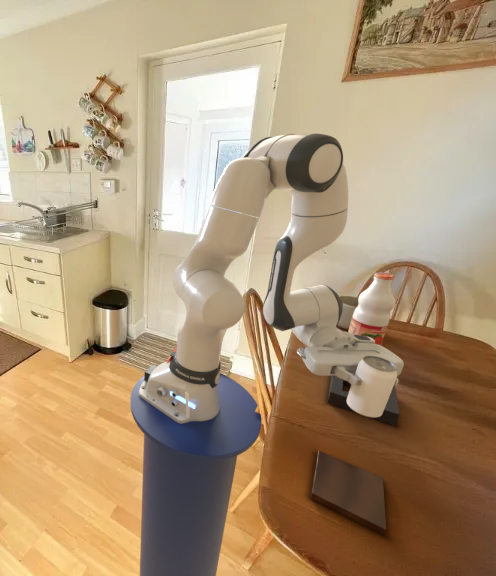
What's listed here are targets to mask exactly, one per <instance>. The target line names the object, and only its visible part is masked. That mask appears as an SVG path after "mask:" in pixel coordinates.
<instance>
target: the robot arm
mask: <svg viewBox="0 0 496 576" xmlns="http://www.w3.org/2000/svg"><path fill="white" fill-rule="evenodd" d="M274 190H278V191H290V193H291V210H290V211H291V212H290V220H289V222H288V226H287V229H286V231H285V232H284V234H283V235H282V236H281V237H280V238H279V239H278V240H277V242H276V244H275V248H274V252H273V257H272V261H271V262H272V263H271V268H270V275H269V281H268V286H267V292H266V296H265V298H264V300H263V301H264V302H263V304H262V315H263V318H264V321H265V323H266V324H267V325H269V326H270V327H271V328H273V329H276V330H278V331H281V332H285V331H289V330H290V331H291V332H292V333H293V335H294V336H295V338H297V339H298V341H300V342H301V343H302V344H303V345H304V346H301V347H299V348H297V349H296V354H297V355H298V357H300V358H302V361H303V363H304V365H305V366H306V368H307V369H308V370H309V371H310V373H311V374H313V375H316V376H319V377H320V376H321V377H325V376H327V377H331V376H337V377H339V378H341V379H343V380H345V381H348V382H349V383H350V384H351V385H352V386H360V385H361V383H362V379H361V378H360V377H358V375H355V372H356V370H357V367H358V364H359V362H360V361H362V360H363V357H365V356H377V357H381V358H384V359H386V360H389V361H390V362H392V363H394V364H395V365H396V367H397V370H396V372H397V378H396V381H395V383H394V386H395V387H397V386H398V385H399V382H400V380H399V378H398V376H400V375H401V374H402V371H403V369H404V367H405V366H404V365H405V364H404V360H403V359H401V358H400V357H399V356H398V355H397V354H395V353H394V352H392V351H391V350H390V349H388V348H386V347H384V346H383V345H381V346H380V345H378V344H375V340H374V339H372V338H371V337H366V336H360V335H355V334H351V333H348V331H343V330H341V329H339V328H337V325H338V323H339V321H340V318H341V315H342V311H343V303H342V300H341V298H340V296H341V295H339V293H337V292H336V290H334V289H333V288H331V287H330V286H328V285H326V284H317V285H313V286H308V287H303V288H299V289H295V290H291V289H292V284H293V279H294V274H295V271H296V269H297V268H298V266H299V265H300V264H301V263H302V262H303V261H305V260H306V259H307V258H309V257H310V256H312V255H313V254H315V253H317V252H318V251H320V250H322V249H324V248H326V247H328V246H330V245H331V244H333V243H334V242H335V241H337V239H338V238H339V237H341V235H342V234H343V232H344V230H345V228H346V224H347V221H348V210H349V182H348V176H347V170H346V166H345V164H344V152H343V148H342V146H341V143H340V142H339V140H338V139H337V138H335V137H333V136H331V135H329V134H324V133H310V134H305V133H304V134H299V133H298V134H296V133H288V134H280V135H276V136H268V137H264V138H261V139H259V140H257V141H256V142H254V143H253V144H252V145H250V146H249V147H248V149H247V150H246V151H245V153H244V154H243V156H242V157H240V158H236V159H234V160H232V161H230V162H229V163H228V164H227V165H226V167H225V168H224V170H223V172H222V174H221V176H220V178H219V179H218V182H217V184H216V186H215V188H214V191H213V193H212V195H211V198H210V200H209V204H208V206H207V209H206V212H205V215H204V218H203V221H202V223H201V227H200V229H199V231H198V234H197V237H196V239H195V241H194V244H193V245H192V246H191V249H190V250H189V252H188V254H187V255H186V257H185V259H183V262H181V263H179V264H178V265H177V266H176V268H175V269H174V271H173V274H172V284H173V288H174V290H175V291H174V292H175V293H176V295H177V296H178V297H179V298H180V300H181V301H182V302H183V304H184V306H185V311H186V316H185V320H184V323H183V325H181V326H180V327H179V329H177V337H176V346H175V348H174V349H173V351H172V352H171V353H170V354H169V357H168V358H167V359H166V361H164V362H161V363H160V364H158V365H157V366H156V365H154V364H152V365H151V366H150V367H148V368H147V369H146V370H145V371H144V375H145V377H144V382H143V383H142V385H141V386H140V389H139V396H140V397H141V398H142V399H144V400H145V401H147V402H148V403H150V404H151V405H152V406H154V407H155V408H157V409H158V410H160V411H161V412H163V413H164V414H166V415H167V416H169V417H170V418H171V419H173V420H174V421H176V422H177V423H180V424H183V423H187V422H190V421H206V420H210V419H212V418H214V417H215V416H216V415H217V414H218V413H219V410H220V403H219V399H218V382H219V379H220V373H222V372H221V370H222V369H221V366H222V363H221V353H222V346H223V341H224V338H225V335H226V333H227V331H228V329H230V328H232V327H234V326H235V325H237V324H238V323H239V322H240V320H241V319H242V318H243V316H244V313H245V310H246V302H245V299H244V296H243V295H242V294H241V292H240V290H239V289H238V288H237V286H236V285H235V284H234V283H233V282H232V281H230V280H229V279H228V278H226V277H225V274H226V272H227V270H228V269H229V267H230V266H231V265H232V263H234V261H235V260H236V259H237V258H240V257H241V256H243V255H244V254H245V253H246V252H247V250H248V247H249V245H250V243H251V240H252V237H253V235H254V233H255V230H256V228H257V225H258V222H259V220H260V218H261V215H262V212H263V209H264V207H265V203H266V200H267V199H268V197H269V196H270V194H271V193H272V192H273V191H274ZM176 416H177V417H176Z"/></svg>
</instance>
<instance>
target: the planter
mask: <svg viewBox="0 0 496 576" xmlns="http://www.w3.org/2000/svg"><path fill="white" fill-rule="evenodd" d="M339 296H340V298H341V300H342V303H343V311H342V315H341V318H340V321H339V323H338V325H336V327H339V328H341V329H343V330H347V331H348V330H349V327H350V324H351V320H352V317H353V313H354V311H355V309H356V308H357V307H358V305H359V303H358V299H359V296H354V295H339Z"/></svg>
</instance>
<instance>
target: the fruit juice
mask: <svg viewBox="0 0 496 576" xmlns="http://www.w3.org/2000/svg"><path fill="white" fill-rule="evenodd" d="M394 280H395V274H392V273H388V272H381V271H379V272H378V271H377V272H375V273H374V274H373V281H372V282H371V284H370V285H369V286H368V287H367V288H366V289H365V290H363V291H362V292H361V293H360V294H359V296H358V297H359V299H358V303H359V305H358V307H357V308H356V309H355V311H354V313H353V317H352V320H351V324H350V327H349V330H347V332H348V333H351V334H355V335H360V336H366V337H371V338H372V339H374V340H375V344H378V345H380V346H383V341H384V338H385V336H386V332H387V331H388V327H389V324H390V321H391V311H392V310H393V309H394V307H395V305H396V298H395V296H394V294H393V290H392V282H394Z"/></svg>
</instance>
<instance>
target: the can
mask: <svg viewBox="0 0 496 576" xmlns="http://www.w3.org/2000/svg"><path fill="white" fill-rule="evenodd" d="M396 370H397V367H396V365H395V364H394V363H392V362H390V361H389V360H386V359H384V358H381V357H377V356H365V357H363V360H362V361H360V362H359V364H358V367H357V370H356V372H355V375H358V377H360V378H361V379H362V383H361V385H360V386H352V385H351V387H350V386H349V387H350V388H349V390H348V393H349V394H348V397H347V404H348V406H349V407H350V408H351V409H352V410H353V411H352V412H354V411H355V412H354V413H356V414H358V415H360V416H362V417H366V418H372V419H374V418H376V417H380V416H381V415H382V413H383V411H384V409H385V406H386V404H387V401H388V399H389V396H390V394H391V391H392V388H393V386H394V383H395V381H396V378H398V376H397V372H396Z"/></svg>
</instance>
